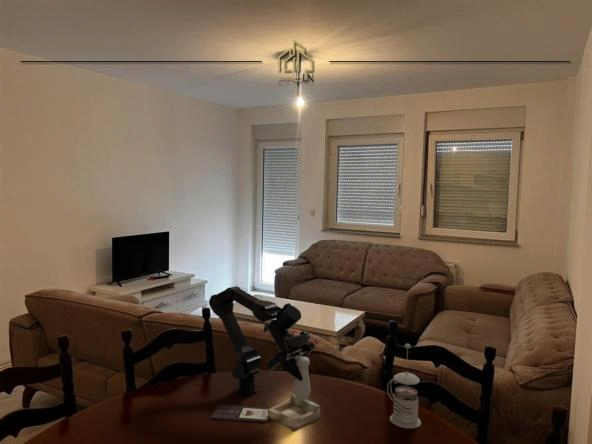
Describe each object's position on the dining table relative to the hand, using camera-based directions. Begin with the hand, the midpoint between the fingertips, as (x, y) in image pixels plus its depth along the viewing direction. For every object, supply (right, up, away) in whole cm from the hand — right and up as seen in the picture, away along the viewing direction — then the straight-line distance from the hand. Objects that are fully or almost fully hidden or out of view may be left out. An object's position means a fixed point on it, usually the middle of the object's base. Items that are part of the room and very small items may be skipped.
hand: (305, 378), depth 137 cm
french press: (+32, -14, +1) cm, 34 cm away
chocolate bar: (-21, -13, +3) cm, 25 cm away
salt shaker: (-1, -7, +1) cm, 7 cm away
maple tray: (-4, -13, +1) cm, 13 cm away
